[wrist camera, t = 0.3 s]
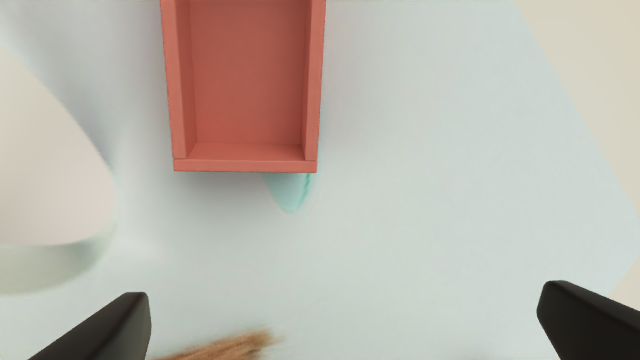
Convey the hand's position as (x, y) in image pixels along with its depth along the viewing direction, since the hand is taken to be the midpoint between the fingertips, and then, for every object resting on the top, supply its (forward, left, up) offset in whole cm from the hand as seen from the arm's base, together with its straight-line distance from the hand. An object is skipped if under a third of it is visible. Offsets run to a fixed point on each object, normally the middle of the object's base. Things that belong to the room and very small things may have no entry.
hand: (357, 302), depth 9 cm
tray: (+5, +3, -14) cm, 15 cm away
